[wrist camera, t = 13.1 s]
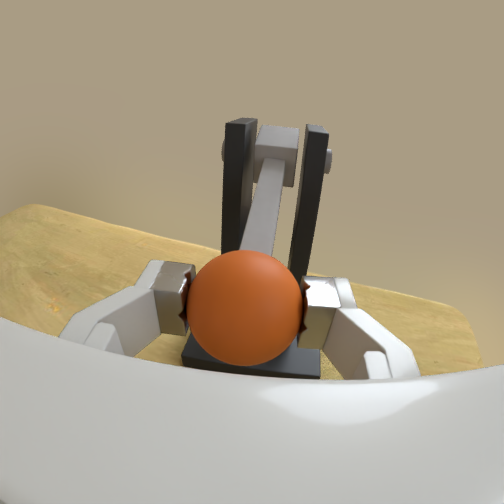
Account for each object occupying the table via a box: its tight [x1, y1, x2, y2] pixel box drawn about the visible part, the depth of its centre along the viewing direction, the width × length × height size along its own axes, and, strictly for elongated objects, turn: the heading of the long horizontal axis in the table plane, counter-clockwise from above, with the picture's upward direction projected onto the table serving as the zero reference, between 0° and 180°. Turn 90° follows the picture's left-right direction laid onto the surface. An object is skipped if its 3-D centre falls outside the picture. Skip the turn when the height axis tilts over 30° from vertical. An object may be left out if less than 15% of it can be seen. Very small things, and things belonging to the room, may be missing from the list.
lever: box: [186, 125, 303, 366], centre depth 12 cm, size 13×4×4 cm, turn 171°
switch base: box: [181, 118, 332, 380], centre depth 19 cm, size 10×9×15 cm
